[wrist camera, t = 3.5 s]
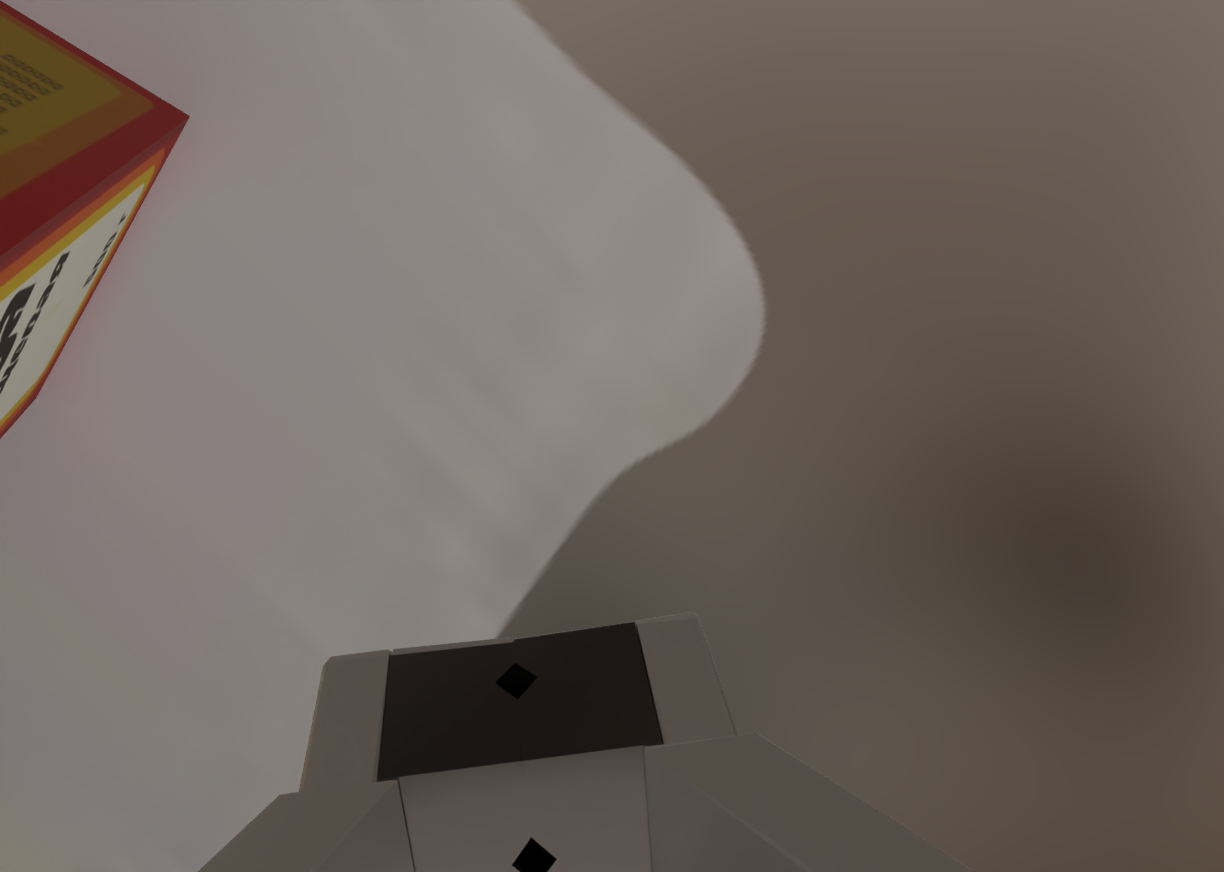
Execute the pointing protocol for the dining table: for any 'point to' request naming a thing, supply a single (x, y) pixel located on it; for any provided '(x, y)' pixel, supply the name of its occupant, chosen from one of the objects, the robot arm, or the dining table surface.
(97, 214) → the baking soda box
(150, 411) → the dining table surface
